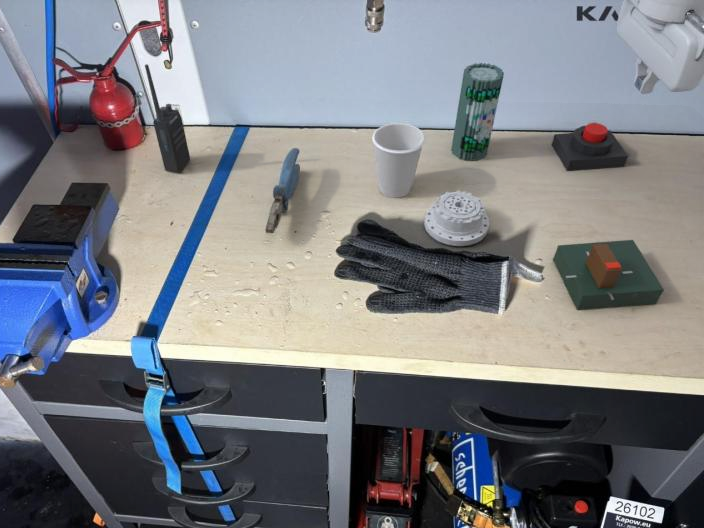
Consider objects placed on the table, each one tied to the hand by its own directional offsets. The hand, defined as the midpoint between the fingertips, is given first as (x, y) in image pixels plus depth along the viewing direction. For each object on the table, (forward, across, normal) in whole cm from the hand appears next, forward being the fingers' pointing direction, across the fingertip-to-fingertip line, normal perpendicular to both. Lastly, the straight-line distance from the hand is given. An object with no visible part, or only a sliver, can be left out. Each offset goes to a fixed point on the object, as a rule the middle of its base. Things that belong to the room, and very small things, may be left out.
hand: (641, 89), depth 95 cm
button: (+10, +3, +4) cm, 11 cm away
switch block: (+14, +3, +4) cm, 14 cm away
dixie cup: (+13, -2, +39) cm, 41 cm away
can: (+13, +7, +24) cm, 28 cm away
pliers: (+13, -5, +58) cm, 59 cm away
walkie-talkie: (+12, +9, +77) cm, 78 cm away
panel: (+14, -27, +13) cm, 33 cm away
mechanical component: (+14, -13, +31) cm, 36 cm away
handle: (+11, -29, +15) cm, 34 cm away
